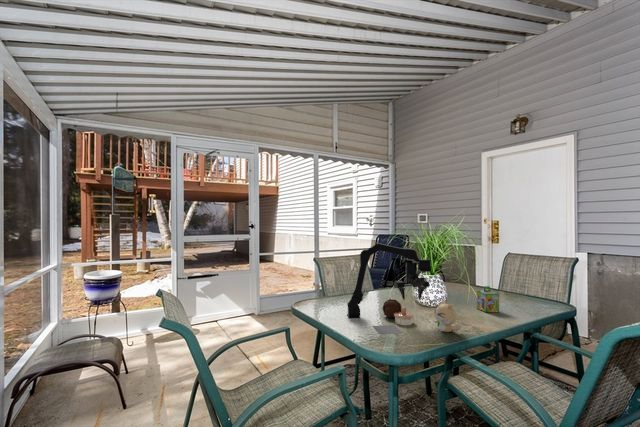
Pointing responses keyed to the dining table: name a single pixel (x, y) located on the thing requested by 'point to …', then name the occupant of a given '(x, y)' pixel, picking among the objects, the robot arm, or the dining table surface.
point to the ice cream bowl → (391, 308)
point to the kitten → (446, 317)
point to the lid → (404, 314)
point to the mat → (387, 329)
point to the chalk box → (487, 300)
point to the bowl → (403, 321)
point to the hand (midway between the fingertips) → (411, 299)
